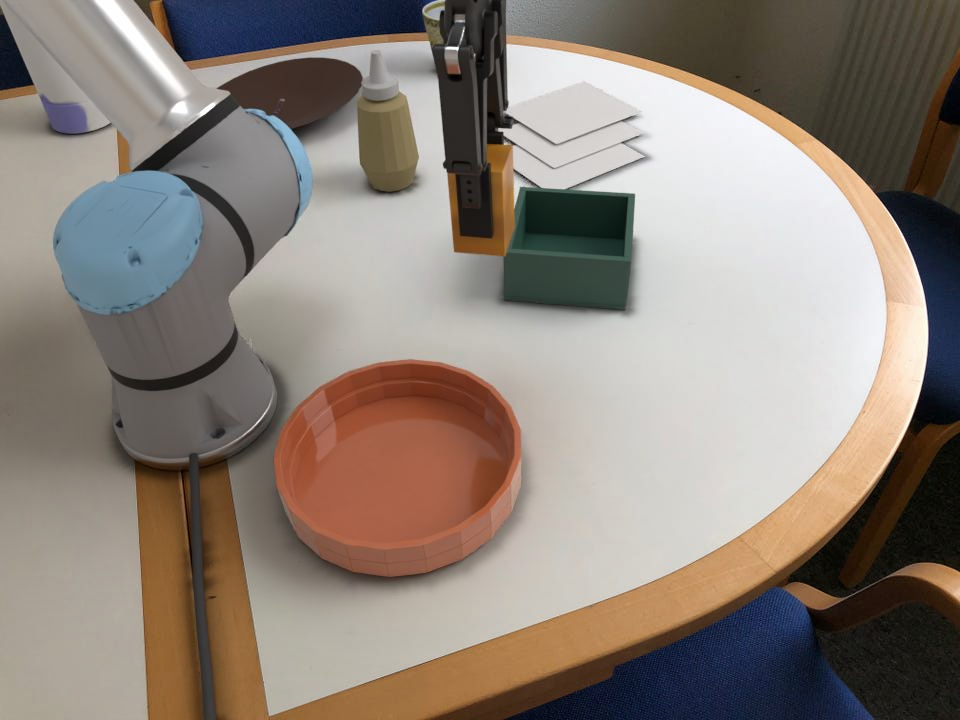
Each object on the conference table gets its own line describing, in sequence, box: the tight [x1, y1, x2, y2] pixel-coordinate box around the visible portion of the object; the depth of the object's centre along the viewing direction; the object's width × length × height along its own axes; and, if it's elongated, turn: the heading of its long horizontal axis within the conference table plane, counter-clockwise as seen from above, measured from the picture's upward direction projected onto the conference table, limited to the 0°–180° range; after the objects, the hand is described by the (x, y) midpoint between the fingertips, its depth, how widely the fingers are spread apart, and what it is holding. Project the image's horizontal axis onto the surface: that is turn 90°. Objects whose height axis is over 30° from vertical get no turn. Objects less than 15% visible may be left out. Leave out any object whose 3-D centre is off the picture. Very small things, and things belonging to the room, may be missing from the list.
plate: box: [216, 56, 364, 130], centre depth 126 cm, size 28×28×4 cm
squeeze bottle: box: [356, 49, 420, 193], centre depth 103 cm, size 8×8×18 cm
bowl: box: [273, 358, 522, 578], centre depth 70 cm, size 21×21×4 cm
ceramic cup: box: [421, 0, 445, 59], centre depth 133 cm, size 13×10×10 cm
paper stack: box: [498, 80, 645, 190], centre depth 117 cm, size 23×25×1 cm
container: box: [0, 0, 112, 135], centre depth 120 cm, size 10×10×20 cm
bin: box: [502, 186, 636, 311], centre depth 91 cm, size 14×14×7 cm
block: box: [446, 144, 515, 258], centre depth 66 cm, size 4×4×8 cm
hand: (483, 217), depth 68 cm, fingers closed on block, 4 cm apart
